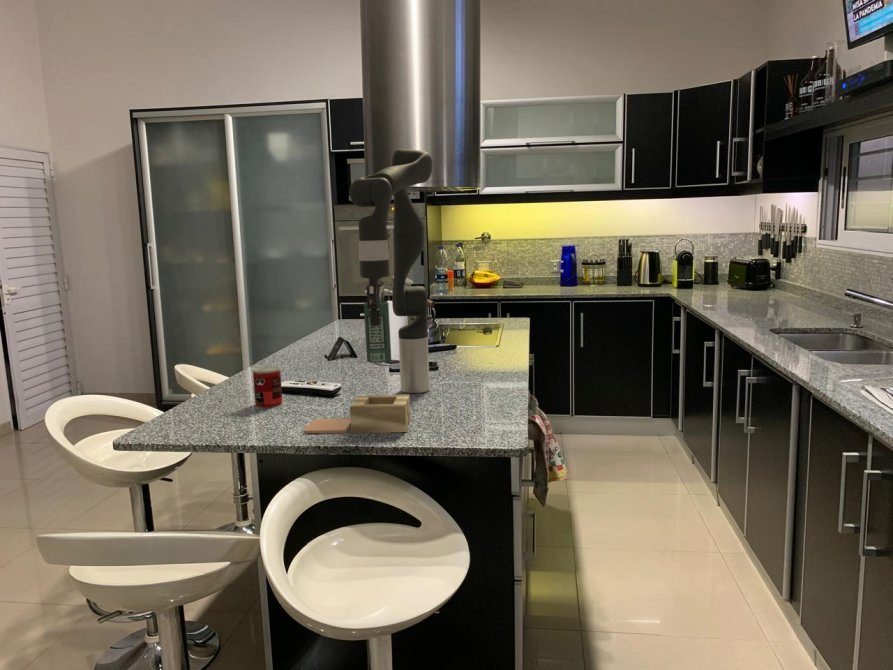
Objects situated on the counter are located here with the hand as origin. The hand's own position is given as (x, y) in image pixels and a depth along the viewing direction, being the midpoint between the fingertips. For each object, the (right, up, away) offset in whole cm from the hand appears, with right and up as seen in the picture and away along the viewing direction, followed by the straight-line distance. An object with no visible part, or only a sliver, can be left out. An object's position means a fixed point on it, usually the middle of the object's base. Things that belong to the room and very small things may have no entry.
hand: (377, 323), depth 182 cm
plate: (-13, -27, +5) cm, 31 cm away
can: (0, -10, +1) cm, 10 cm away
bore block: (+1, -27, +4) cm, 27 cm away
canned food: (-36, -24, +32) cm, 54 cm away
